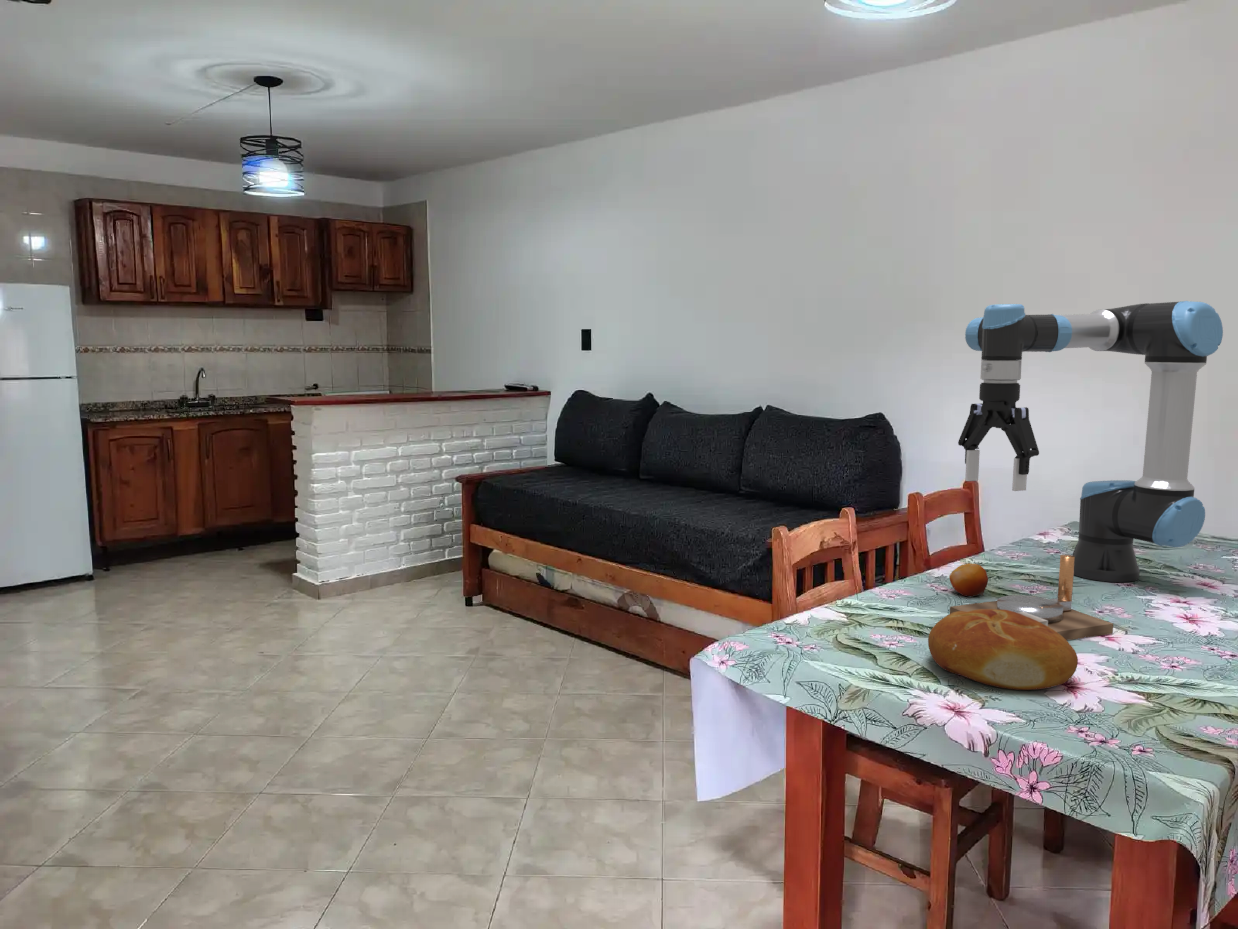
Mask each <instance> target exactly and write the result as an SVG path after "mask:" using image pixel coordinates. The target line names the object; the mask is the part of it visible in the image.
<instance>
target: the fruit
mask: <svg viewBox="0 0 1238 929" xmlns="http://www.w3.org/2000/svg"><path fill="white" fill-rule="evenodd" d="M949 581H950V583H951V587H952V588H953V589H954V591H955V592H956V593H958V594H960V595H962V596H965V597H968V596H971V597H976V596H981V597H984V593H985V590H986V589H987V587H988V586H987V585H988V582H989V577H988V574H987V571H986V569H985V568H984V567H983V566H982V565H980V564H977V563H971V562H970V563H969V562H968V563H965V564H961V565H959V566H957V567H956V568H955V569H954V570H953V571H952V572H951V573H950V574H949Z"/></svg>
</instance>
